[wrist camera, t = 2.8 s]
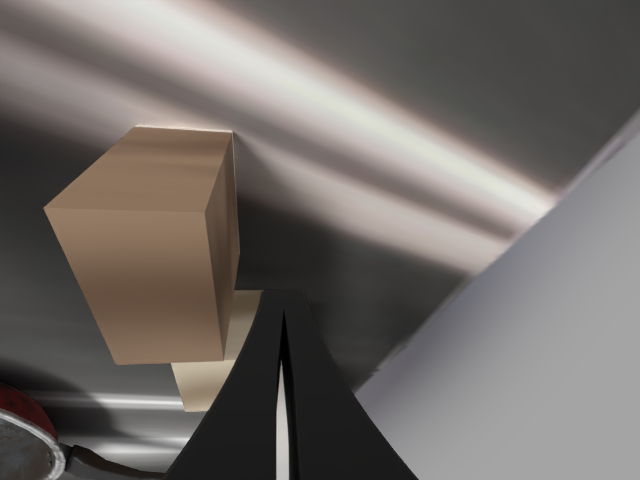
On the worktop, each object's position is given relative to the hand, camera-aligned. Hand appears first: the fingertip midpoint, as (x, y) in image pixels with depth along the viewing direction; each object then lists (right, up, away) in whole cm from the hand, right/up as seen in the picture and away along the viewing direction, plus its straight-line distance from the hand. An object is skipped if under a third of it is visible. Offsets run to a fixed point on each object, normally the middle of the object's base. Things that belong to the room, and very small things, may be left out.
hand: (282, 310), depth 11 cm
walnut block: (-5, +5, +5) cm, 9 cm away
